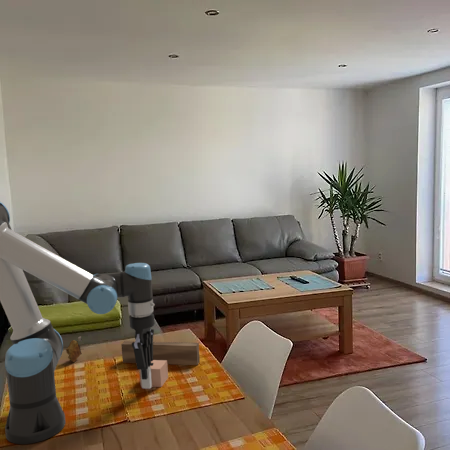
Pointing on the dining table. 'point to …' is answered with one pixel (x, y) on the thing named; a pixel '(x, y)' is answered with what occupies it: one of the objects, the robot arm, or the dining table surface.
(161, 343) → the walnut rail
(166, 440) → the dining table surface
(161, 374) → the block
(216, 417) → the dining table surface
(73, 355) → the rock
